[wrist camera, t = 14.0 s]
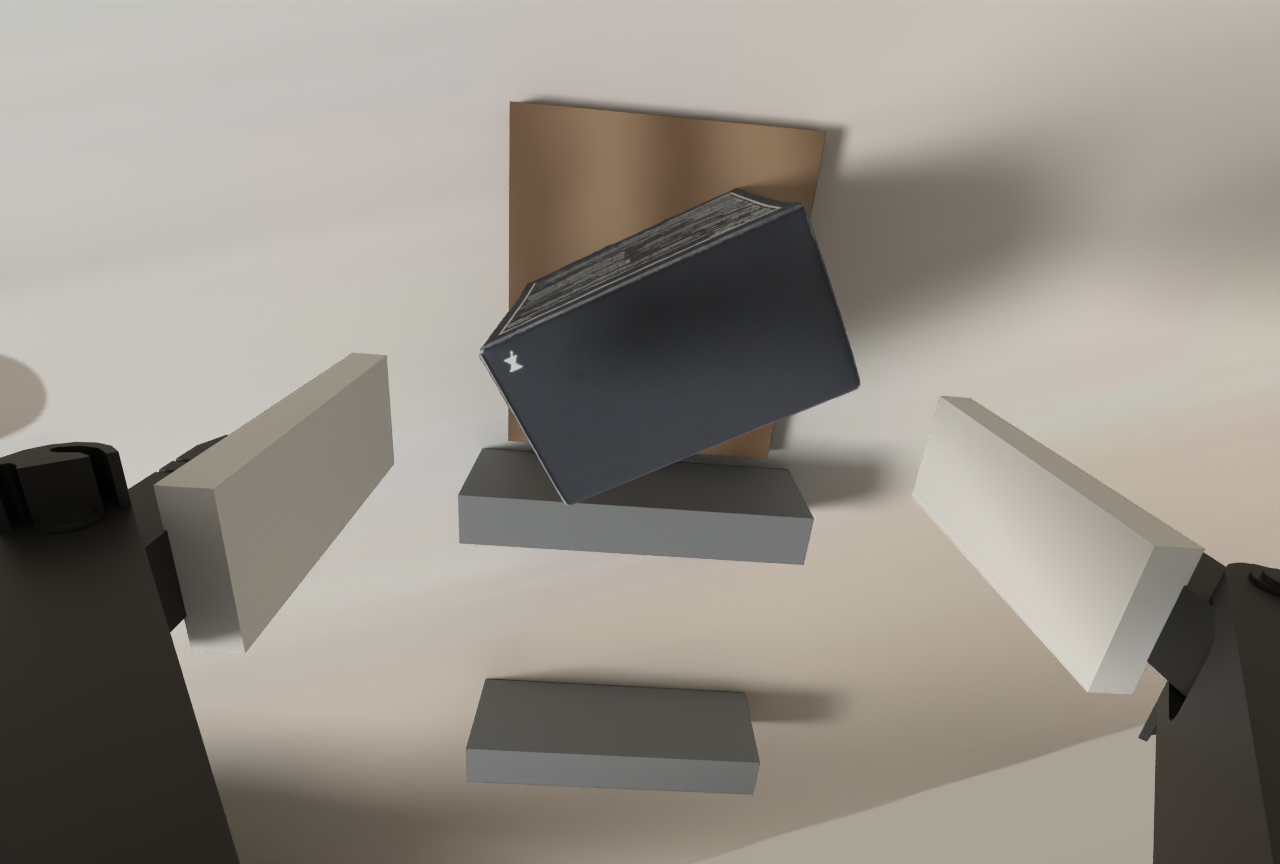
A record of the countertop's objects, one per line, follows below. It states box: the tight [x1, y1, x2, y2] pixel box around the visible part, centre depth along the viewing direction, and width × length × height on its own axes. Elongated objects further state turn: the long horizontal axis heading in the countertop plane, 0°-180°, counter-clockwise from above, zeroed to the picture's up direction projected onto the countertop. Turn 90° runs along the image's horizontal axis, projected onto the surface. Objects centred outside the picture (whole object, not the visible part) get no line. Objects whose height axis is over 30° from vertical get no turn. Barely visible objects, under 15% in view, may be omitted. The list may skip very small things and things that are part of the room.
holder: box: [458, 449, 814, 795], centre depth 34 cm, size 16×18×5 cm
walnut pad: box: [508, 101, 826, 459], centre depth 29 cm, size 13×15×1 cm
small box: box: [479, 188, 860, 506], centre depth 24 cm, size 11×6×10 cm, turn 114°
